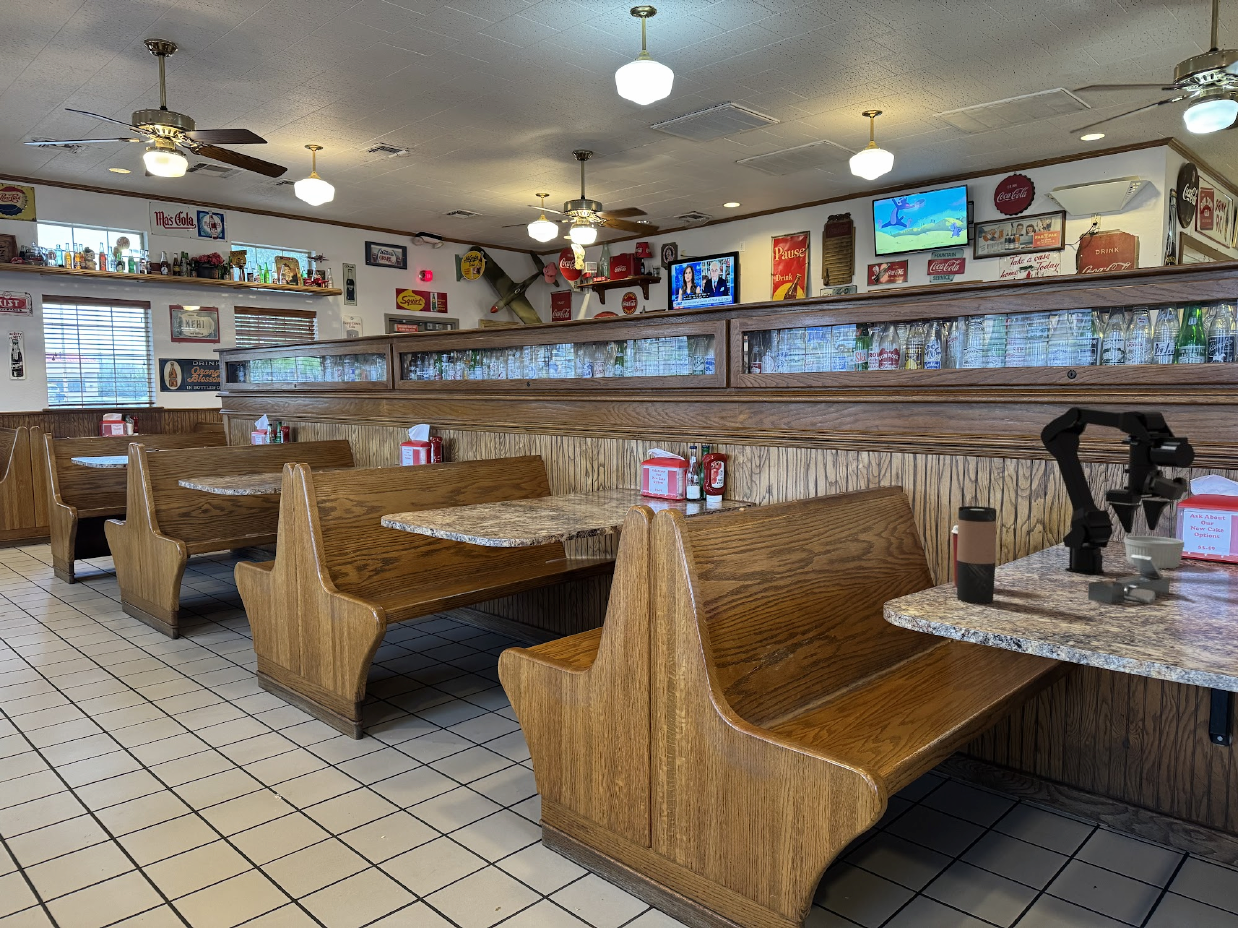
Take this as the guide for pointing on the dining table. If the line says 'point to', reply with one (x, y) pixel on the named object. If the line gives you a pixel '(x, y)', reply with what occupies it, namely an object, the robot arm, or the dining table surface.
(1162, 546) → the ramekin
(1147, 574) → the keeper flap
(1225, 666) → the dining table surface
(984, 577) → the travel mug
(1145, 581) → the hitch bar
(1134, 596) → the pin
